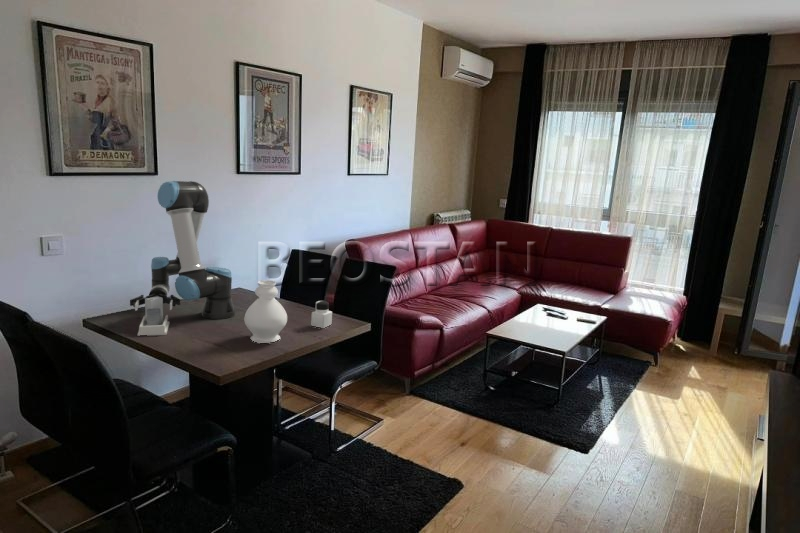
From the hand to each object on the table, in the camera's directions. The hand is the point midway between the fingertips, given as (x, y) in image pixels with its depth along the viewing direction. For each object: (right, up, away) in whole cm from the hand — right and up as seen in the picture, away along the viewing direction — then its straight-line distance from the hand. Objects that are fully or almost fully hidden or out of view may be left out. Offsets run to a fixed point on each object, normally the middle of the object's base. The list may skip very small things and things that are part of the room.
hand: (153, 307), depth 227 cm
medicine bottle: (+68, -11, +24) cm, 73 cm away
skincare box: (-2, -8, +6) cm, 11 cm away
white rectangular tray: (-1, -10, +3) cm, 10 cm away
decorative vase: (+48, -14, +1) cm, 50 cm away
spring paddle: (-1, -9, +3) cm, 9 cm away
